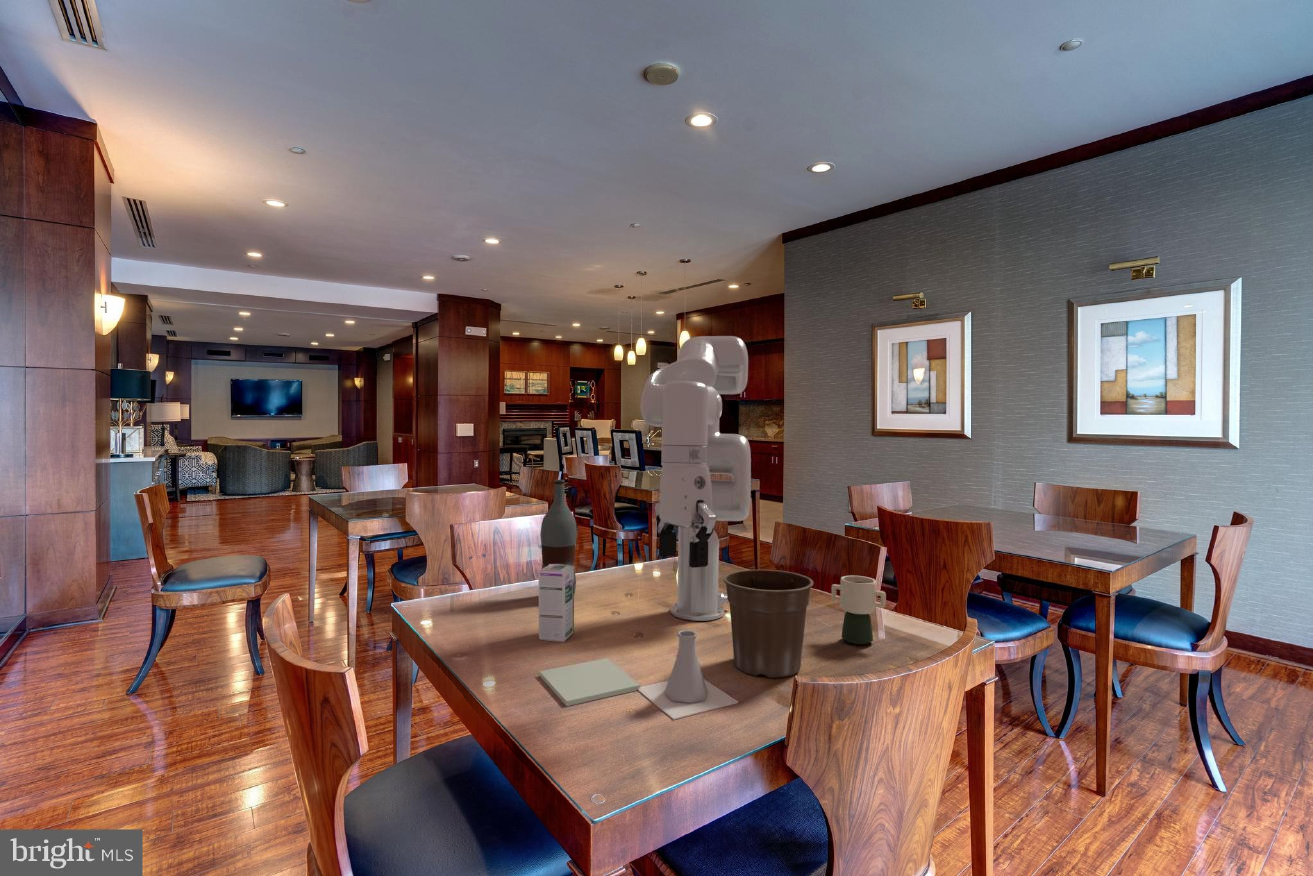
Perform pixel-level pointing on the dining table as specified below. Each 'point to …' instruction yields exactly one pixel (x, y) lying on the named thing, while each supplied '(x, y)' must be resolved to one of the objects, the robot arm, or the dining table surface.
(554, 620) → the syrup box
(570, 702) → the coaster
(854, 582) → the character mug
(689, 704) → the white flat square
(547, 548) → the bottle
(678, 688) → the flask
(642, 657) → the dining table surface
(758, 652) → the plant pot
